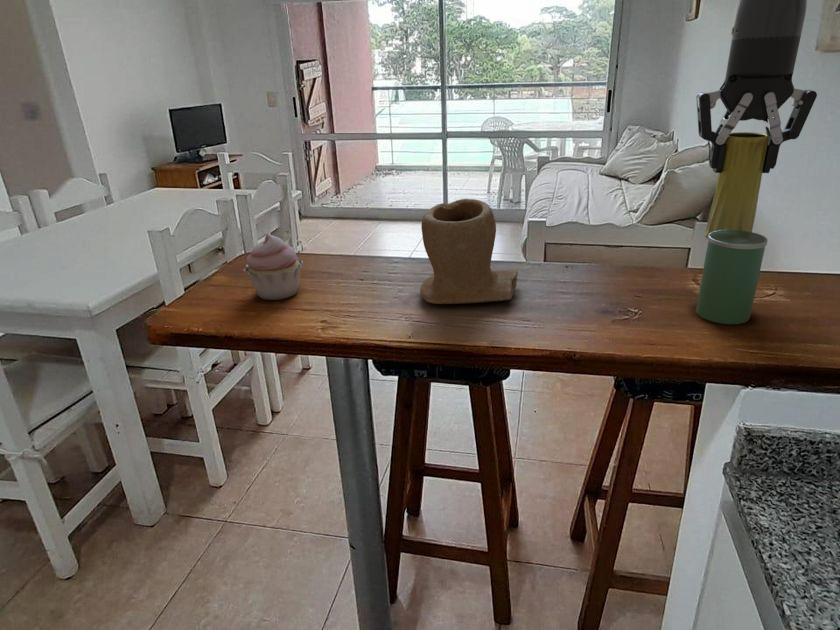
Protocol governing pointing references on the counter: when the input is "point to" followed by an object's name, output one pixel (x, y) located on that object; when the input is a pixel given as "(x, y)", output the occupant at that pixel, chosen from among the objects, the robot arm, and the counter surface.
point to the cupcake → (274, 269)
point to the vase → (738, 183)
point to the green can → (730, 276)
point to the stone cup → (463, 255)
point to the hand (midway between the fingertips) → (740, 171)
